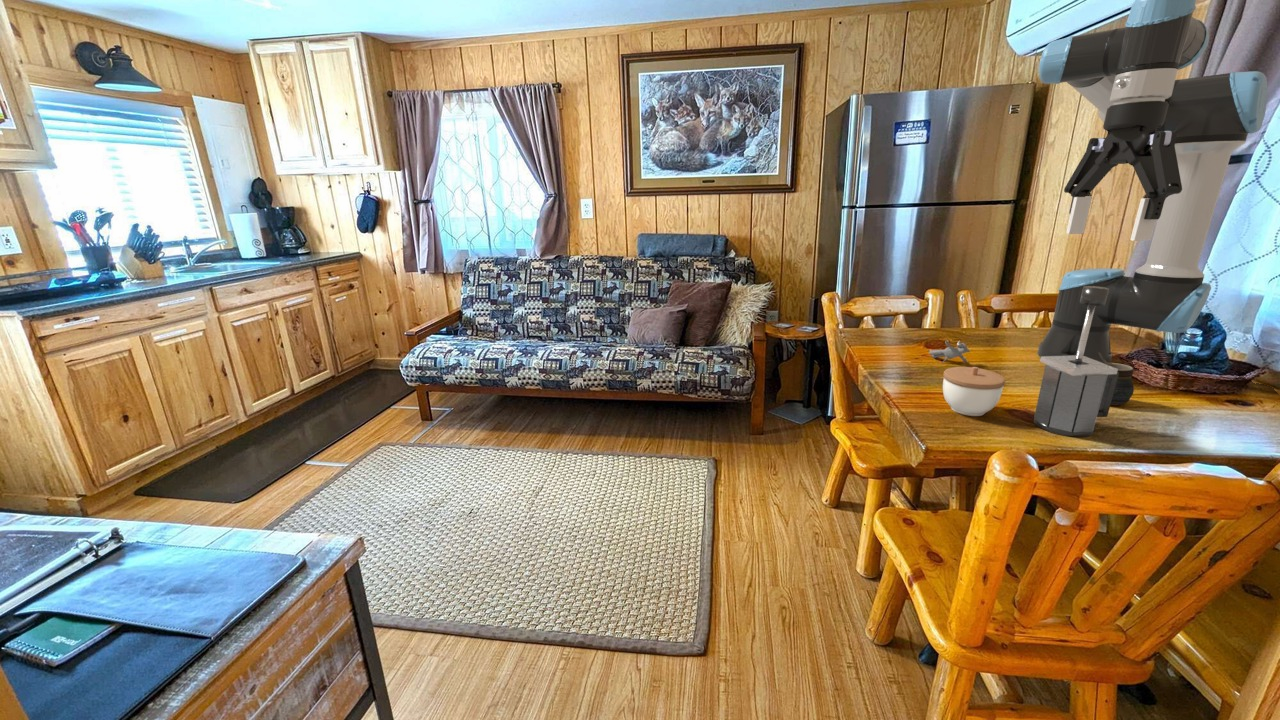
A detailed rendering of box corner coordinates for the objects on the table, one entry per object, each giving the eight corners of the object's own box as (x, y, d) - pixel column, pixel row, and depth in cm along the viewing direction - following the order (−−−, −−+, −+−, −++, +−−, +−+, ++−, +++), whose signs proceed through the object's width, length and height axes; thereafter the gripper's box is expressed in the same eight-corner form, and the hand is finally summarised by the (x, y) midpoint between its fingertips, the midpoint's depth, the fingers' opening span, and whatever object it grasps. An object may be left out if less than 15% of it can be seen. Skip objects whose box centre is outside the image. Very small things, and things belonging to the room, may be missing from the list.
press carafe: (1082, 415, 109) (1098, 353, 105) (1122, 435, 100) (1141, 369, 96) (1022, 417, 109) (1035, 355, 105) (1057, 438, 100) (1073, 371, 96)
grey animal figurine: (944, 354, 148) (978, 351, 140) (939, 373, 146) (973, 371, 138) (923, 335, 144) (957, 330, 136) (918, 354, 142) (952, 350, 134)
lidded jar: (927, 401, 117) (934, 360, 115) (974, 399, 118) (982, 358, 115) (959, 422, 107) (967, 378, 104) (1010, 419, 108) (1020, 375, 105)
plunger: (1075, 378, 104) (1098, 284, 99) (1099, 389, 99) (1125, 290, 93) (1047, 379, 104) (1068, 285, 99) (1069, 390, 99) (1093, 291, 93)
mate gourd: (1119, 411, 110) (1131, 364, 107) (1077, 399, 117) (1087, 355, 114) (1137, 403, 114) (1149, 358, 111) (1094, 392, 120) (1104, 349, 117)
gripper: (1057, 112, 100) (1033, 231, 106) (1191, 89, 76) (1149, 244, 82) (1097, 112, 100) (1071, 231, 106) (1244, 89, 76) (1198, 243, 82)
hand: (1105, 237), depth 94 cm, fingers open, 13 cm apart
